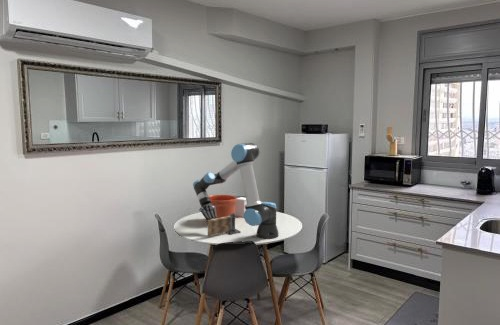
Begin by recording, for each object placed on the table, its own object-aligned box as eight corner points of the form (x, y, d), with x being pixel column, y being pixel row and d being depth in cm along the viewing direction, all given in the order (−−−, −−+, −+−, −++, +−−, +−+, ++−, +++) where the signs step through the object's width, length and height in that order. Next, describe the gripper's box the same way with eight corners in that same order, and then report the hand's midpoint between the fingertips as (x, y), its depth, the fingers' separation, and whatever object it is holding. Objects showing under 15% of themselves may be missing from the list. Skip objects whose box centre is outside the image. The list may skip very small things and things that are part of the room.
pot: (212, 216, 302) (212, 193, 300) (240, 218, 295) (241, 195, 293) (199, 224, 278) (199, 199, 276) (230, 227, 271) (230, 201, 269)
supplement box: (244, 217, 299) (244, 199, 298) (234, 216, 304) (235, 198, 302) (249, 215, 307) (249, 197, 305) (240, 214, 311) (241, 196, 310)
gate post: (234, 230, 263) (234, 211, 262) (240, 232, 256) (240, 213, 255) (224, 231, 258) (224, 213, 257) (230, 234, 252) (230, 215, 251)
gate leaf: (229, 230, 257) (229, 215, 256) (231, 230, 255) (231, 216, 254) (207, 235, 245) (207, 220, 244) (209, 235, 243) (209, 220, 242)
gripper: (210, 201, 268) (221, 229, 256) (194, 203, 260) (205, 232, 248) (213, 195, 263) (225, 223, 251) (197, 197, 255) (208, 226, 243)
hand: (215, 227), depth 250 cm, fingers closed
